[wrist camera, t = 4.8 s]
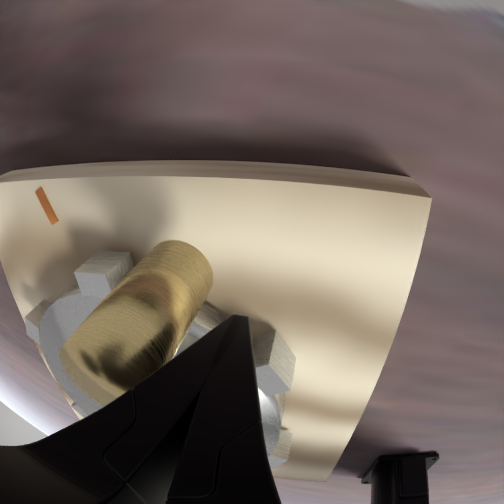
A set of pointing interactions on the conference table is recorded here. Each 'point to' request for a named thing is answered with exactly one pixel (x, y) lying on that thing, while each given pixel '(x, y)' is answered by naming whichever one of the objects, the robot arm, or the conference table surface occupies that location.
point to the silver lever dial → (146, 331)
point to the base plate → (243, 263)
